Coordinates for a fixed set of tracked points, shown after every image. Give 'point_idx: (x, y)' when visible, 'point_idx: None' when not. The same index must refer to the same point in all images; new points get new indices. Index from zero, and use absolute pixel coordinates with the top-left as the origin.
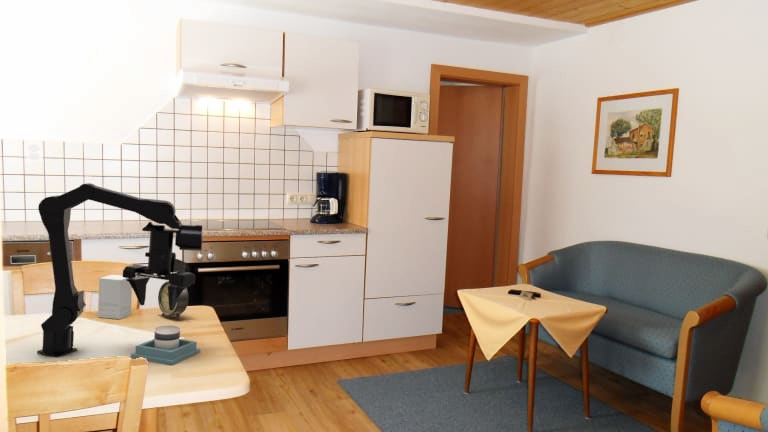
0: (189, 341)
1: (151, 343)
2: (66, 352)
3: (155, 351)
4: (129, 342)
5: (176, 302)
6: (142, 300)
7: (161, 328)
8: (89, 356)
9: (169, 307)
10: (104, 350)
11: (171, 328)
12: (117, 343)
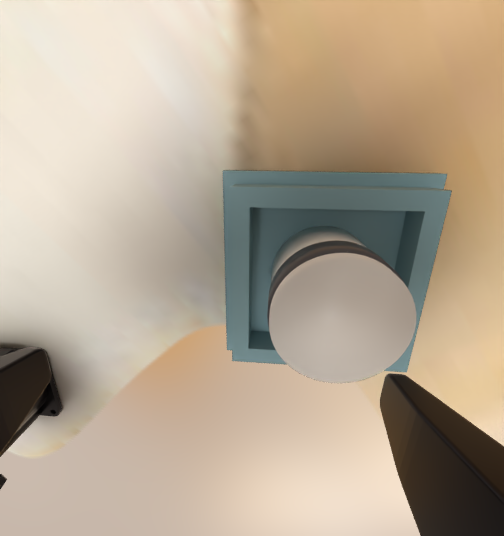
0: (410, 203)
1: (249, 289)
2: (53, 391)
3: None
4: (84, 193)
5: (488, 444)
6: (9, 410)
7: (307, 338)
8: (117, 374)
9: (393, 444)
10: (101, 313)
11: (360, 314)
12: (63, 228)
